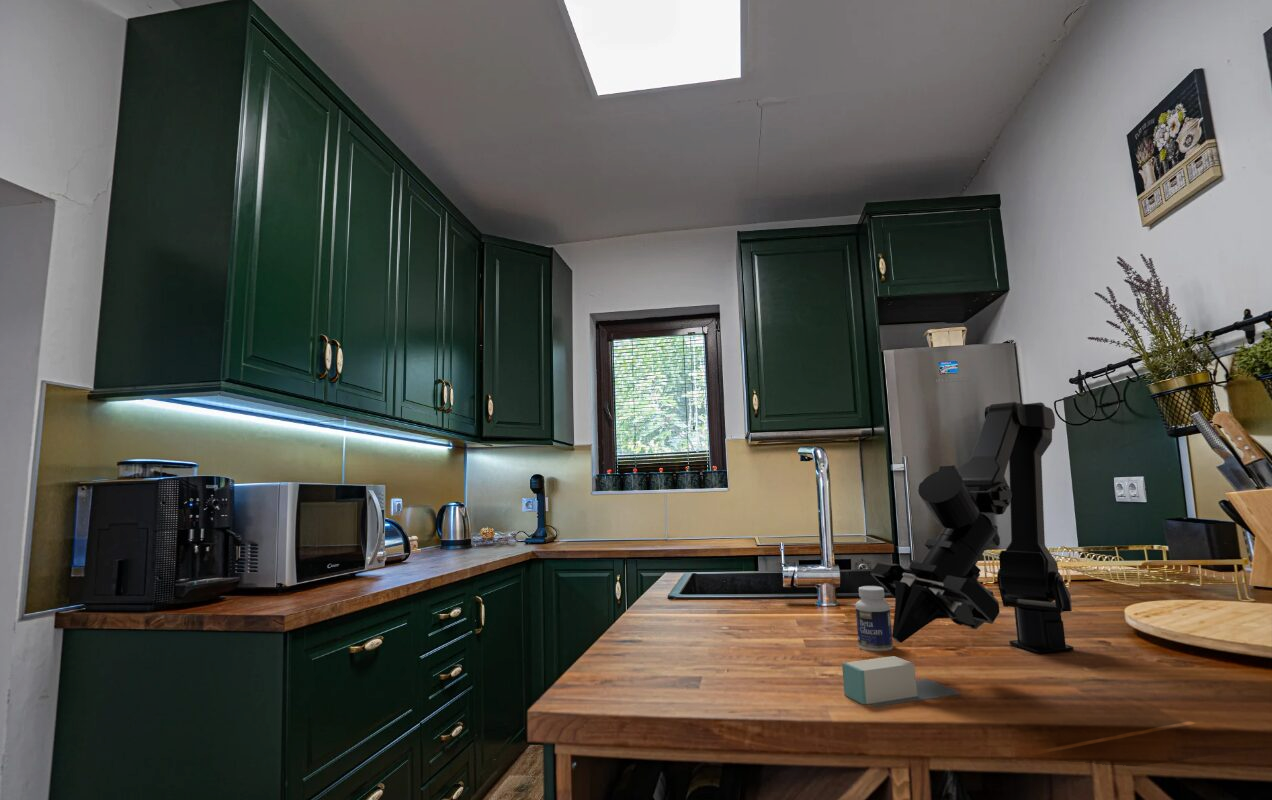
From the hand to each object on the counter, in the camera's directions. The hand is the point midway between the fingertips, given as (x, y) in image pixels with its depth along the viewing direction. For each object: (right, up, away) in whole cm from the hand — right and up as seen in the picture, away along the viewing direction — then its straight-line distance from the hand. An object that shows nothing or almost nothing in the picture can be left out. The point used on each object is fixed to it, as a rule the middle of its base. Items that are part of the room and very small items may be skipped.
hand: (896, 640), depth 87 cm
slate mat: (+1, -7, -1) cm, 7 cm away
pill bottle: (+5, -10, +22) cm, 25 cm away
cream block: (+1, -4, 0) cm, 5 cm away
